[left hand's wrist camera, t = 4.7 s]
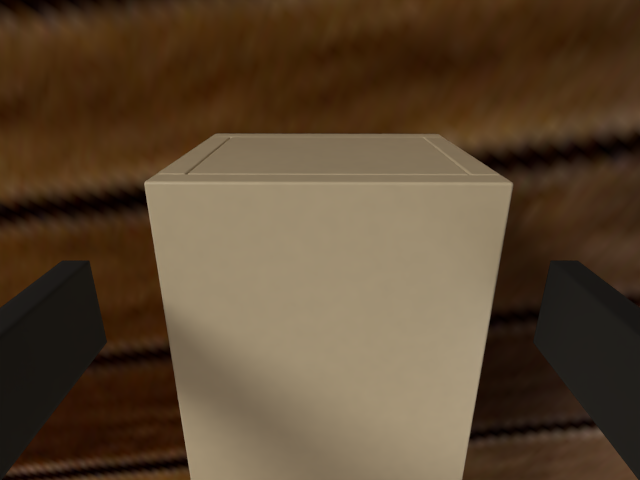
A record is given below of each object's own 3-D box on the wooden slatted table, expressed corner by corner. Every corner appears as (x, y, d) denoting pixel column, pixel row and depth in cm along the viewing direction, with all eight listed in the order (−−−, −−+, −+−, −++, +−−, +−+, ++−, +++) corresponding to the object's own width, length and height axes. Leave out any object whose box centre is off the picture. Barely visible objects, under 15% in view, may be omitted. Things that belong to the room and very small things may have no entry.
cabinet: (404, 474, 27) (435, 637, 19) (245, 473, 27) (214, 634, 19) (439, 133, 19) (514, 182, 11) (214, 133, 19) (142, 181, 11)
